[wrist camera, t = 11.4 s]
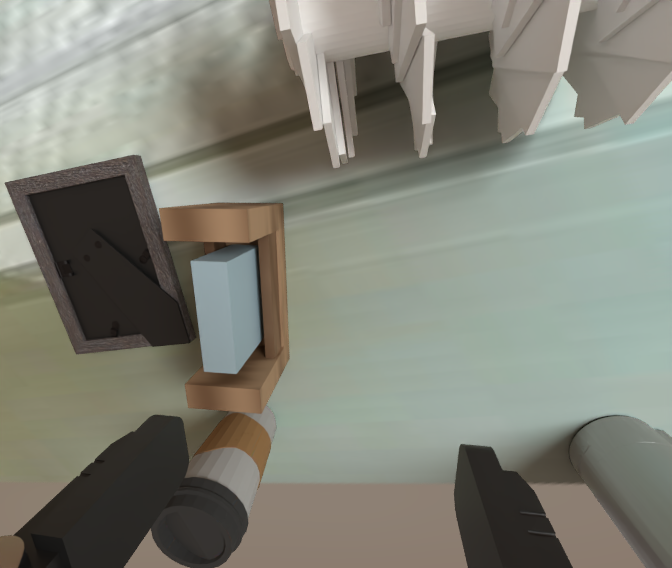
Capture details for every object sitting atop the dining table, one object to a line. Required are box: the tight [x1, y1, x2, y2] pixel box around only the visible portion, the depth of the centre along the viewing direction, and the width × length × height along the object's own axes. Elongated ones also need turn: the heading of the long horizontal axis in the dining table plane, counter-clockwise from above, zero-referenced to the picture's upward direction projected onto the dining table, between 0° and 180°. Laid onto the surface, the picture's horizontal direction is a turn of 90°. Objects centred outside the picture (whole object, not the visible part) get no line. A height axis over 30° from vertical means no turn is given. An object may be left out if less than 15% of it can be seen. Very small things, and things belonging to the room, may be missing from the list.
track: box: [159, 203, 289, 414], centre depth 32 cm, size 7×18×10 cm, turn 0°
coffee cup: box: [151, 405, 276, 568], centre depth 35 cm, size 8×8×15 cm
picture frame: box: [5, 155, 196, 354], centre depth 38 cm, size 16×2×21 cm
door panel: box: [191, 244, 264, 374], centre depth 31 cm, size 4×10×8 cm, turn 0°
